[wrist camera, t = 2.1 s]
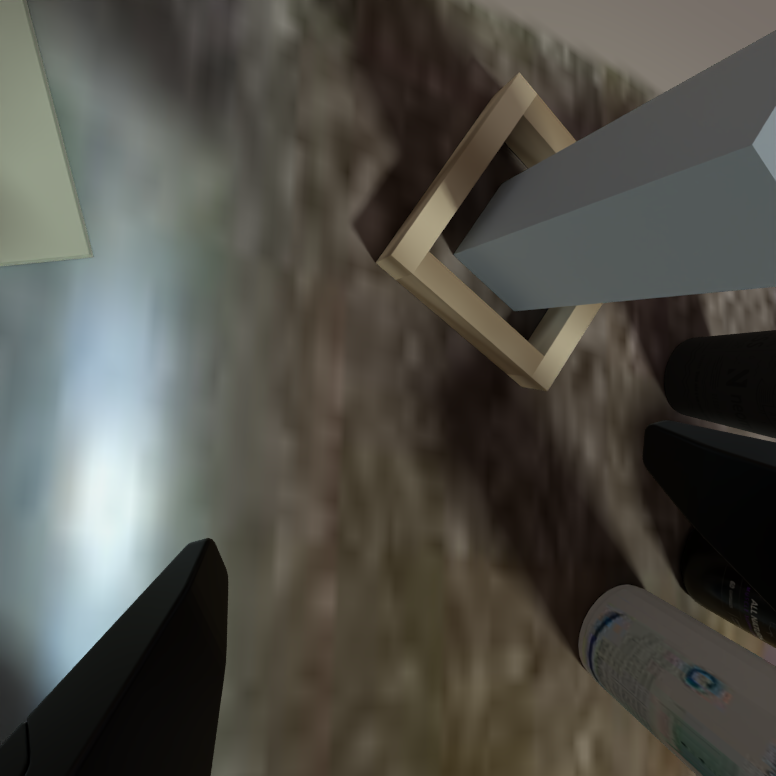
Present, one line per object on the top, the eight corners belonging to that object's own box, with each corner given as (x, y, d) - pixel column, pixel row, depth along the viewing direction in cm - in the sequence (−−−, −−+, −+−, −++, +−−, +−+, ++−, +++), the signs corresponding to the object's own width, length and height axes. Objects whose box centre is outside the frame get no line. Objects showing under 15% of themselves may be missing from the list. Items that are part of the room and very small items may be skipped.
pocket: (521, 387, 24) (547, 391, 22) (375, 262, 20) (390, 255, 18) (617, 237, 25) (649, 229, 23) (493, 95, 21) (519, 72, 19)
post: (514, 311, 23) (840, 280, 11) (453, 254, 21) (752, 144, 9) (558, 243, 23) (918, 140, 11) (501, 183, 22) (846, -10, 10)
